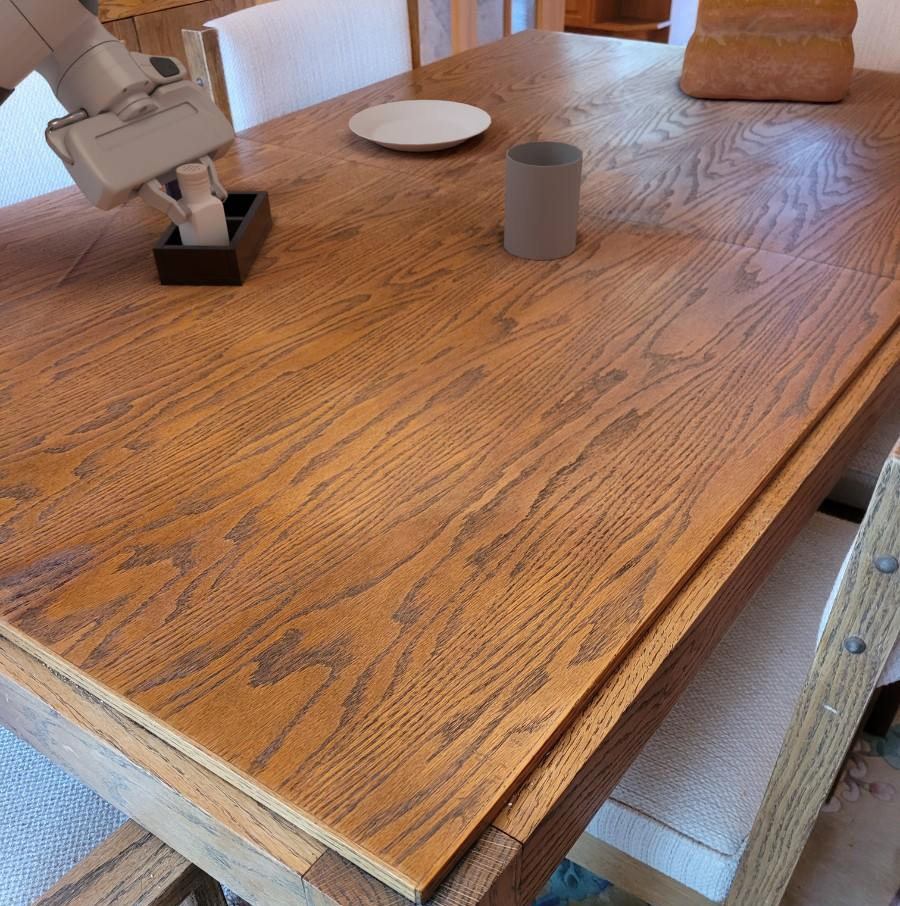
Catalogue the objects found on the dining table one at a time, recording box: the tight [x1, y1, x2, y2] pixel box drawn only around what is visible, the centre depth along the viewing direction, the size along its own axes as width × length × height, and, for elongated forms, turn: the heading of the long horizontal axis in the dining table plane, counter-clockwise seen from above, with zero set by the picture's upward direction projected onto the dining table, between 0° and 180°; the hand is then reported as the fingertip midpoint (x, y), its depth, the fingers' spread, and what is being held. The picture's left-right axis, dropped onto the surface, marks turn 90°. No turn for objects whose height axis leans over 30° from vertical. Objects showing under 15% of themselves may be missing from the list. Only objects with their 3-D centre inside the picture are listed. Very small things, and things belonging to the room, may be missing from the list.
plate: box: [348, 99, 492, 153], centre depth 133 cm, size 21×21×2 cm
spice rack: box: [151, 190, 273, 287], centre depth 103 cm, size 9×17×4 cm, turn 177°
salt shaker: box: [176, 163, 230, 246], centre depth 97 cm, size 4×4×10 cm
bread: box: [679, 0, 859, 103], centre depth 142 cm, size 14×26×15 cm, turn 81°
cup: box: [503, 140, 584, 261], centre depth 101 cm, size 8×8×10 cm
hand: (204, 210), depth 96 cm, fingers closed on salt shaker, 4 cm apart
